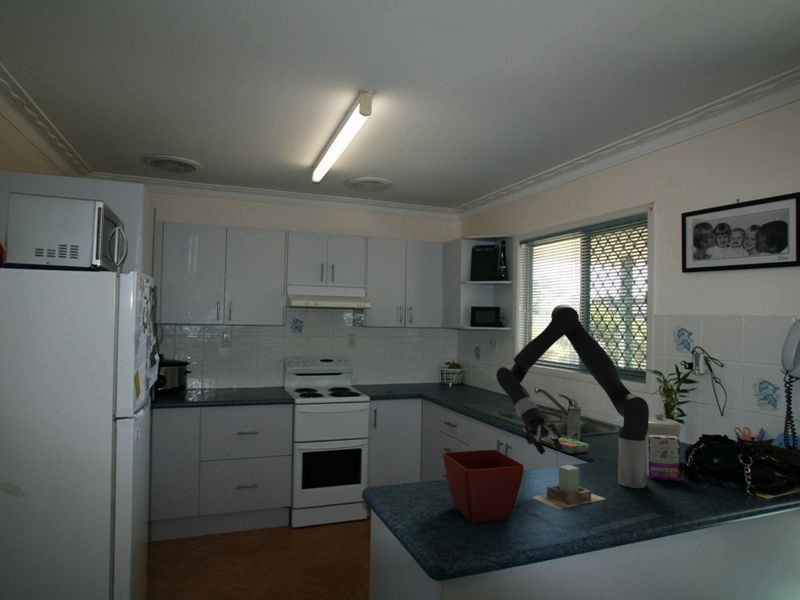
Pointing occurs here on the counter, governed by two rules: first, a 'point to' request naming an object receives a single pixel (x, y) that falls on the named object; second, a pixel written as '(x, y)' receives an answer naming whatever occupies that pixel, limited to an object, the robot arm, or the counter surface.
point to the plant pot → (483, 483)
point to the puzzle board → (567, 497)
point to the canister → (663, 426)
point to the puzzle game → (569, 445)
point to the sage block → (569, 479)
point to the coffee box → (574, 423)
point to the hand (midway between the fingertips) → (552, 451)
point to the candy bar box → (663, 457)
